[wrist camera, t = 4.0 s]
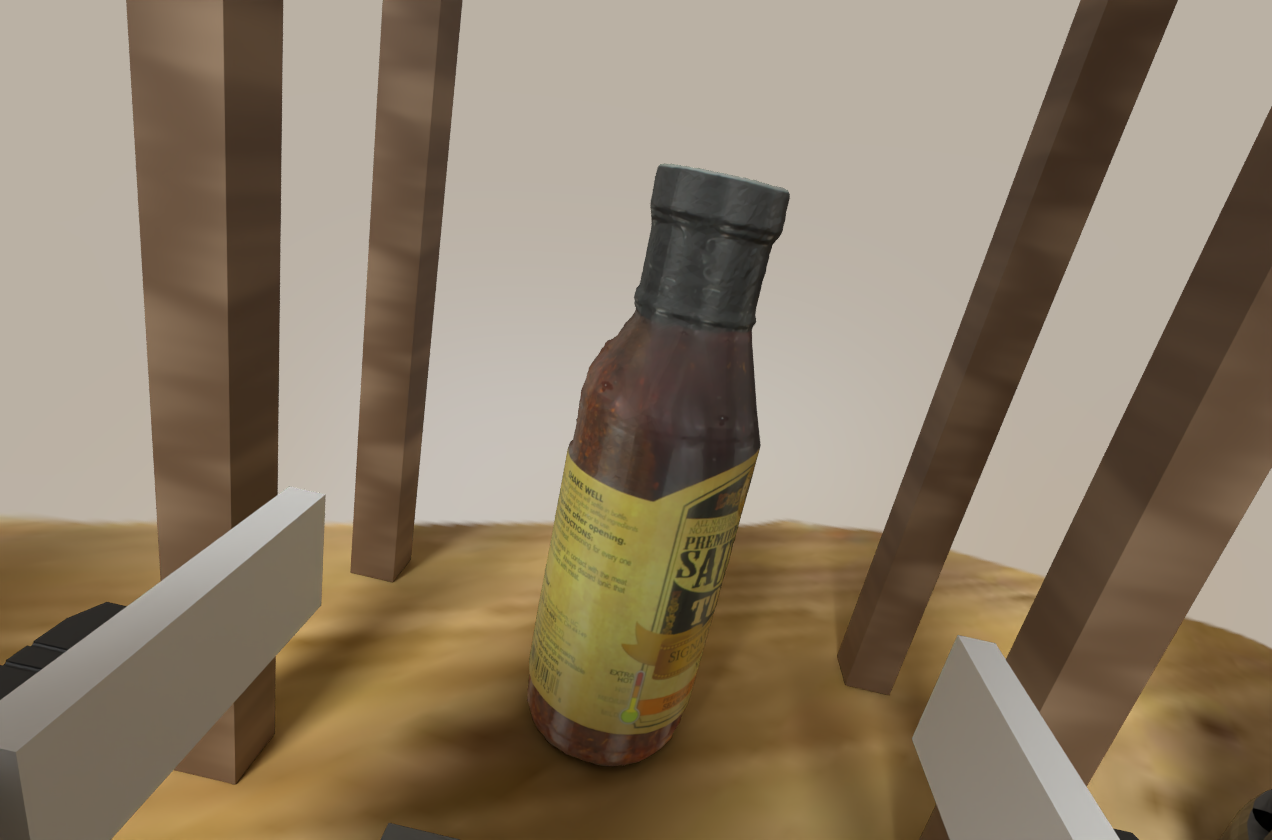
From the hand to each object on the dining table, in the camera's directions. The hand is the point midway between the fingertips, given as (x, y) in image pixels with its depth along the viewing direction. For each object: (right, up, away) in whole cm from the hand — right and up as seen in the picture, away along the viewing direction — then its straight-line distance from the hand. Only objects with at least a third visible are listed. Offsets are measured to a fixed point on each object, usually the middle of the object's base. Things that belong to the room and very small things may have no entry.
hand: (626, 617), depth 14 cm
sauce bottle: (-1, -7, +13) cm, 14 cm away
